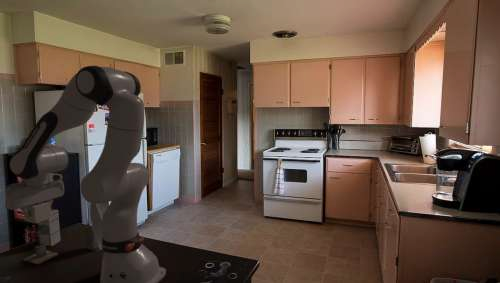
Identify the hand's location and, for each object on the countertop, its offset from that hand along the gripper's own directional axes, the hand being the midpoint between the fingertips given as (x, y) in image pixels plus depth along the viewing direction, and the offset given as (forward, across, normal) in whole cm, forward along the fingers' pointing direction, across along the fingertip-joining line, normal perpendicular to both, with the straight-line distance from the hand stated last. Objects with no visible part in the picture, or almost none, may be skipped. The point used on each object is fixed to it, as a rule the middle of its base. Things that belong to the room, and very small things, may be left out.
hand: (37, 213), depth 115 cm
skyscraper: (+18, +16, -14) cm, 28 cm away
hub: (+18, 0, 0) cm, 18 cm away
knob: (+2, 0, 0) cm, 2 cm away
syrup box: (+18, +10, +8) cm, 22 cm away
